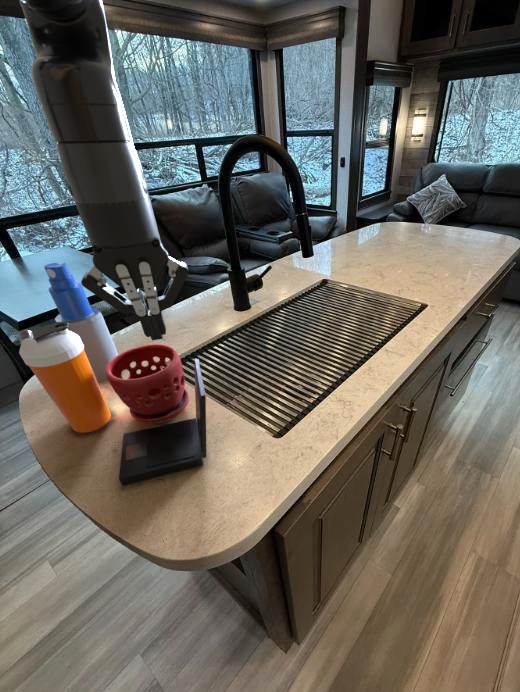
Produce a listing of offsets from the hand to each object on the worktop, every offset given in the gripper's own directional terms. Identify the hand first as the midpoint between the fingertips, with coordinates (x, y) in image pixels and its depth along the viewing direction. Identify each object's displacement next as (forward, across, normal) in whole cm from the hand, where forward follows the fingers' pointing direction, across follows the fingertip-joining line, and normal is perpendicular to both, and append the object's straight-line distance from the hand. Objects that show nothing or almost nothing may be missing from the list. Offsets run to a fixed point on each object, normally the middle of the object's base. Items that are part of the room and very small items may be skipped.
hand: (157, 337), depth 47 cm
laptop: (+22, +5, 0) cm, 23 cm away
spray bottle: (+22, +18, -33) cm, 44 cm away
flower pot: (+22, +5, -13) cm, 26 cm away
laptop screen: (+14, -3, 0) cm, 14 cm away
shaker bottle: (+22, +18, -14) cm, 32 cm away
